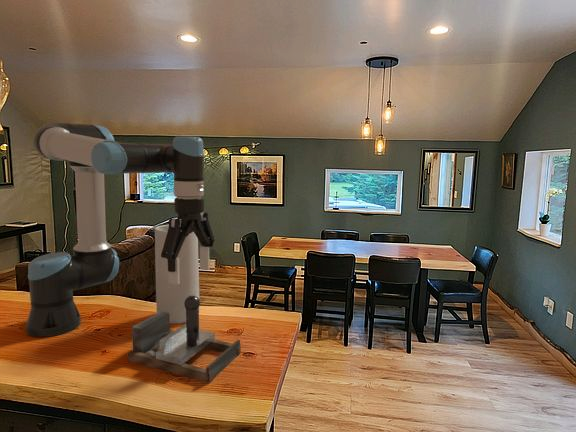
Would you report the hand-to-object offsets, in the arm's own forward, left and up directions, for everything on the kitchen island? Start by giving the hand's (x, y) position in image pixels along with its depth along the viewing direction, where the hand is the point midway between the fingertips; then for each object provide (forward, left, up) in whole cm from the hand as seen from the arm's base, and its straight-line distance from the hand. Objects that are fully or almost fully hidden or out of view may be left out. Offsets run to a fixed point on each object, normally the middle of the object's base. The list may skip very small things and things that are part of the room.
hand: (190, 276), depth 105 cm
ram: (-2, 0, -23) cm, 23 cm away
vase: (-21, +22, -24) cm, 39 cm away
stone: (-9, -1, -24) cm, 26 cm away
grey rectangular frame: (-2, 0, -24) cm, 24 cm away
